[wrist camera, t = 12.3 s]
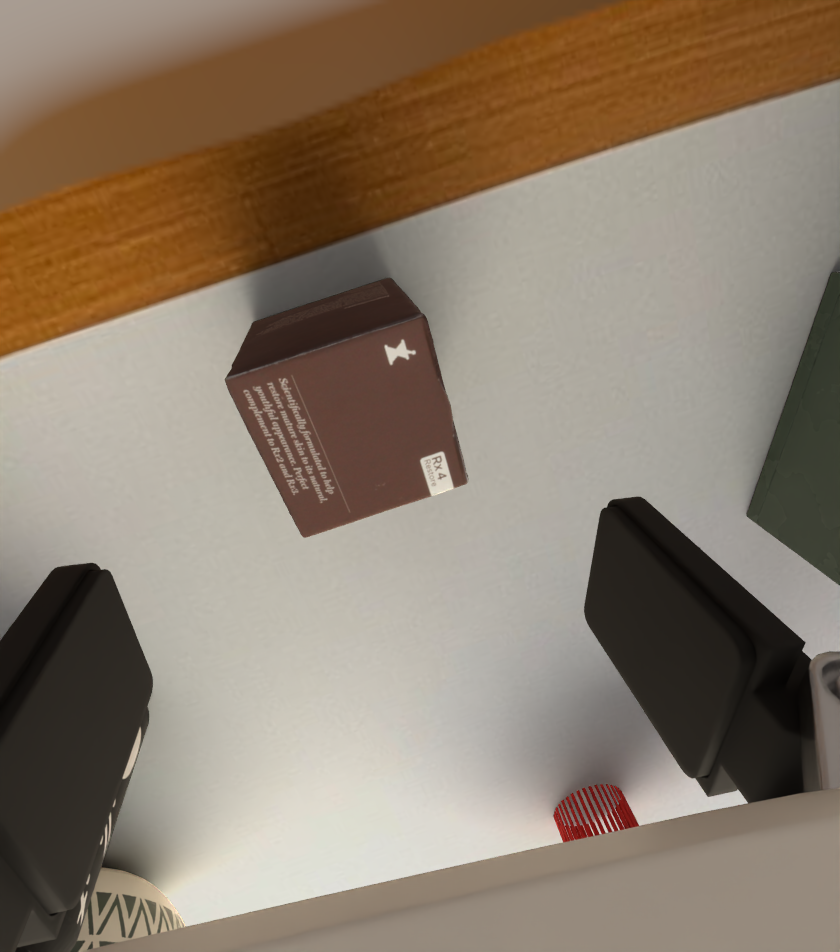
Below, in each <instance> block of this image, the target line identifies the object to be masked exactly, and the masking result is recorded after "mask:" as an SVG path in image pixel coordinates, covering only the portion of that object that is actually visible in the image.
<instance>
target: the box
mask: <svg viewBox="0 0 840 952" xmlns="http://www.w3.org/2000/svg"><path fill="white" fill-rule="evenodd" d="M225 382H226V385H227V388H228V390H229V392H230V395H231V397H232V398H233V400H234V402H235V405H236V407H237V409H238V411H239V413H240V415H241V417H242V419H243V421H244V423H245V425H246V428H247V430H248V432H249V433H250V435H251V437H252V439H253V441H254V443H255V445H256V447H257V449H258V451H259V453H260V455H261V457H262V459H263V461H264V463H265V465H266V467H267V469H268V471H269V473H270V475H271V477H272V479H273V481H274V483H275V485H276V487H277V489H278V490H279V492H280V495H281V496H282V498H283V501H284V503H285V505H286V506H287V509H288V511H289V513H290V515H291V516H292V518H293V520H294V522H295V524H296V526H297V528H298V529H299V531H300V533H301V535H302V536H303V537H305V538H306V537H309V536H312V535H316V534H319V533H322V532H325V531H327V530H331V529H333V528H336V527H339V526H342V525H345V524H348V523H352V522H354V521H357V520H360V519H363V518H366V517H369V516H372V515H375V514H378V513H381V512H384V511H387V510H390V509H393V508H396V507H399V506H402V505H406V504H408V503H412V502H415V501H418V500H421V499H424V498H427V497H430V496H434V495H437V494H440V493H443V492H445V491H448V490H451V489H453V488H456V487H459V486H461V485H465V484H467V483H468V475H467V473H466V468H465V465H464V460H463V456H462V453H461V449H460V445H459V441H458V437H457V433H456V429H455V426H454V422H453V416H452V411H451V405H450V402H449V400H448V396H447V394H446V391H445V387H444V384H443V380H442V376H441V371H440V368H439V364H438V360H437V355H436V352H435V348H434V344H433V339H432V335H431V332H430V328H429V324H428V321H427V318H426V316H425V315H424V314H423V313H421V312H420V310H419V309H418V307H417V306H416V305H415V304H414V303H413V302H412V300H410V298H409V297H408V296H407V295H406V294H405V292H404V291H402V289H401V288H400V287H399V286H398V285H397V284H396V283H395V281H394V280H393V279H391V278H386V279H383V280H380V281H377V282H373V283H370V284H367V285H364V286H361V287H358V288H355V289H352V290H349V291H346V292H343V293H340V294H337V295H334V296H331V297H328V298H325V299H322V300H319V301H316V302H312V303H309V304H306V305H303V306H300V307H297V308H294V309H291V310H288V311H285V312H282V313H279V314H276V315H273V316H270V317H267V318H264V319H261V320H258V321H255V322H253V323H252V325H251V328H250V330H249V332H248V334H247V336H246V338H245V340H244V342H243V344H242V346H241V348H240V351H239V353H238V355H237V357H236V359H235V361H234V362H233V364H232V369H231V370H230V372H229V373H228V375H227V377H226V378H225Z"/></svg>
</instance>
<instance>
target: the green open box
mask: <svg viewBox="0 0 840 952" xmlns="http://www.w3.org/2000/svg"><path fill="white" fill-rule="evenodd" d="M747 517H748V518H750V519H751V520H752V521H754V522H755V523H757V524H758V525H759V526H760V527H762V528H763V529H764V530H766V531H767V532H769V533H770V534H771V535H773V536H774V537H775V538H777V539H778V540H779V541H781V542H782V543H783V544H785V545H786V546H787V547H789V548H790V549H791V550H793V551H794V552H795V553H797V554H798V555H799V556H801V557H802V558H803V559H805V560H806V561H807V562H809V563H810V564H812V565H813V566H814V567H816V568H817V569H818V570H820V571H821V572H822V573H824V574H825V575H826V576H828V577H829V578H830V579H832V580H833V581H834V582H836V583H837V584H838V585H840V272H832V273H831V275H830V278H829V281H828V284H827V287H826V290H825V293H824V295H823V298H822V301H821V304H820V307H819V310H818V313H817V315H816V318H815V321H814V324H813V327H812V330H811V333H810V335H809V338H808V341H807V344H806V347H805V350H804V353H803V355H802V358H801V361H800V364H799V367H798V370H797V373H796V375H795V378H794V381H793V384H792V387H791V390H790V393H789V395H788V398H787V401H786V404H785V407H784V410H783V413H782V415H781V418H780V421H779V424H778V427H777V430H776V432H775V435H774V438H773V441H772V444H771V447H770V450H769V452H768V455H767V458H766V461H765V464H764V467H763V470H762V472H761V475H760V478H759V481H758V484H757V487H756V490H755V492H754V495H753V498H752V501H751V504H750V507H749V510H748V512H747Z"/></svg>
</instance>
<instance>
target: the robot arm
mask: <svg viewBox="0 0 840 952" xmlns="http://www.w3.org/2000/svg"><path fill="white" fill-rule="evenodd" d="M584 613H585V618H586V621H587V623H588V625H589V627H590V629H591V630H592V632H593V633H594V635H595V636H596V638H597V639H598V641H599V642H600V644H601V646H602V647H603V649H604V650H605V652H606V653H607V655H608V656H609V658H610V659H611V661H612V663H613V664H614V666H615V667H616V669H617V670H618V672H619V673H620V675H621V676H622V678H623V680H624V681H625V683H626V684H627V686H628V687H629V689H630V690H631V692H632V693H633V695H634V697H635V698H636V700H637V701H638V703H639V704H640V706H641V707H642V709H643V710H644V712H645V713H646V715H647V717H648V718H649V720H650V721H651V723H652V724H653V726H654V727H655V729H656V730H657V732H658V734H659V735H660V737H661V738H662V740H663V741H664V743H665V744H666V746H667V747H668V749H669V751H670V752H671V754H672V755H673V757H674V758H675V760H676V761H677V763H678V764H679V766H680V768H681V769H682V770H683V772H684V773H685V774H686V775H687V776H688V777H691V778H696V780H697V781H698V783H699V784H700V786H701V787H702V789H703V790H704V792H705V793H706V795H707V796H708V797H710V796H714V795H719V794H724V793H728V792H733V791H737V789H738V790H739V791H740V792H741V794H742V795H743V796H744V798H745V799H746V801H747V802H748V804H743V805H738V806H733V807H728V808H722V809H717V810H712V811H707V812H702V813H697V814H693V815H688V816H684V817H679V818H674V819H670V820H665V821H660V822H656V823H651V824H647V825H642V826H637V827H633V828H628V829H623V830H619V831H614V832H610V833H605V834H600V835H596V836H591V837H586V838H582V839H577V840H573V841H568V842H563V843H559V844H554V845H549V846H545V847H540V848H536V849H531V850H527V851H522V852H518V853H513V854H509V855H504V856H500V857H495V858H490V859H486V860H481V861H477V862H472V863H468V864H463V865H459V866H454V867H450V868H445V869H441V870H436V871H432V872H427V873H423V874H418V875H414V876H409V877H405V878H400V879H396V880H391V881H387V882H382V883H378V884H373V885H369V886H364V887H360V888H355V889H351V890H346V891H342V892H338V893H333V894H329V895H324V896H320V897H315V898H311V899H306V900H302V901H298V902H293V903H289V904H285V905H280V906H276V907H271V908H267V909H263V910H258V911H254V912H249V913H245V914H241V915H236V916H232V917H227V918H223V919H219V920H214V921H210V922H205V923H201V924H197V925H192V926H188V927H183V928H179V929H175V930H170V931H166V932H162V933H157V934H153V935H148V936H144V937H140V938H135V939H131V940H126V941H122V942H118V943H114V944H110V945H106V946H102V947H98V948H93V949H89V950H85V951H81V952H840V652H826V653H822V654H818V655H817V656H816V657H815V658H814V659H813V660H811V659H810V658H809V657H808V656H807V655H806V654H805V653H804V652H803V651H802V649H803V647H804V645H805V642H804V641H803V640H802V639H801V638H800V637H799V636H798V635H796V634H795V633H794V632H793V631H792V630H791V629H790V628H789V627H787V626H786V625H785V624H784V623H783V622H782V621H781V620H780V619H778V618H777V617H776V616H775V615H774V614H773V613H772V612H771V611H770V610H768V609H767V608H766V607H765V606H764V605H763V604H762V603H761V602H759V601H758V600H757V599H756V598H755V597H754V596H753V595H752V594H750V593H749V592H748V591H747V590H746V589H745V588H744V587H743V586H741V585H740V584H739V583H738V582H737V581H736V580H735V579H734V578H732V577H731V576H730V575H729V574H728V573H727V572H726V571H725V570H723V569H722V568H721V567H720V566H719V565H718V564H717V563H716V562H715V561H713V560H712V559H711V558H710V557H709V556H708V555H707V554H706V553H704V552H703V551H702V550H701V549H700V548H699V547H698V546H697V545H695V544H694V543H693V542H692V541H691V540H690V539H689V538H688V537H686V536H685V535H684V534H683V533H682V532H681V531H680V530H679V529H677V528H676V527H675V526H674V525H673V524H672V523H671V522H670V521H669V520H667V519H666V518H665V517H664V516H663V515H662V514H661V513H660V512H658V511H657V510H656V509H655V508H654V507H653V506H652V505H651V504H649V503H648V502H647V501H646V500H645V499H643V498H642V497H631V498H623V499H614V500H612V501H610V502H609V504H608V506H607V508H604V509H602V511H601V513H600V518H599V524H598V529H597V535H596V541H595V547H594V553H593V559H592V565H591V571H590V577H589V582H588V588H587V594H586V600H585V606H584ZM152 687H153V679H152V674H151V671H150V669H149V666H148V664H147V661H146V659H145V656H144V654H143V651H142V649H141V646H140V644H139V641H138V639H137V636H136V634H135V631H134V629H133V626H132V624H131V621H130V619H129V616H128V614H127V611H126V609H125V606H124V604H123V601H122V599H121V596H120V594H119V591H118V589H117V586H116V584H115V581H114V579H113V576H112V575H111V573H110V572H109V571H108V570H106V569H104V570H101V569H100V567H99V566H98V565H97V564H95V563H86V564H78V565H69V566H61V567H57V568H55V569H53V570H52V571H51V572H50V574H49V575H48V577H47V578H46V579H45V581H44V582H43V583H42V585H41V586H40V587H39V589H38V590H37V591H36V593H35V594H34V596H33V597H32V598H31V600H30V601H29V602H28V604H27V605H26V606H25V608H24V609H23V610H22V612H21V613H20V615H19V616H18V617H17V619H16V620H15V621H14V623H13V624H12V625H11V627H10V628H9V629H8V631H7V632H6V634H5V635H4V636H3V638H2V639H1V640H0V952H15V951H16V948H17V947H21V946H26V945H31V944H35V943H40V942H44V941H49V940H54V939H57V936H58V933H59V931H60V928H61V925H62V922H63V920H64V917H65V914H66V911H67V910H71V909H73V908H74V907H75V906H76V905H77V904H78V902H79V900H80V899H81V896H82V894H83V891H84V889H85V886H86V883H87V880H88V877H89V874H90V871H91V868H92V865H93V862H94V859H95V857H96V854H97V851H98V848H99V845H100V842H101V839H102V836H103V833H104V830H105V828H106V825H107V822H108V819H109V816H110V813H111V810H112V807H113V804H114V801H115V798H116V796H117V793H118V790H119V787H120V784H121V781H122V778H123V775H124V772H125V769H126V767H127V764H128V761H129V758H130V755H131V752H132V749H133V746H134V743H135V740H136V737H137V735H138V732H139V729H140V726H141V723H142V720H143V717H144V714H145V711H146V708H147V706H148V703H149V700H150V697H151V693H152Z"/></svg>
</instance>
